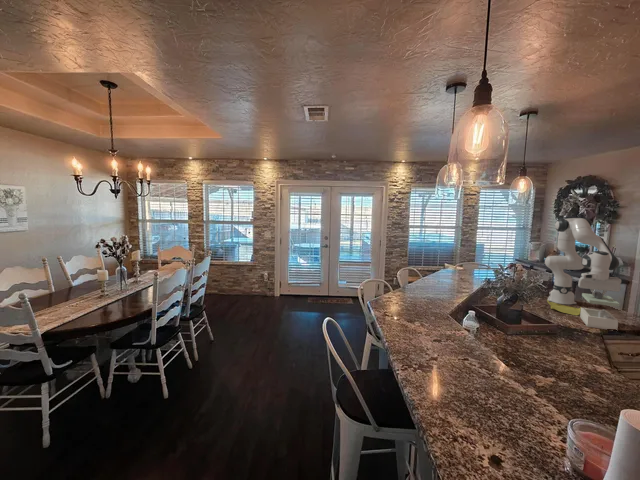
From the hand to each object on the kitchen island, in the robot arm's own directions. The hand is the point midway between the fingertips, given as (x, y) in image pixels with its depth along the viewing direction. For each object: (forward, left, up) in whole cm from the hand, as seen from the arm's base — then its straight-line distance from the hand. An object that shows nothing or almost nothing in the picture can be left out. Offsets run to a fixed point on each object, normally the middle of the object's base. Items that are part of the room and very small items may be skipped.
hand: (597, 296), depth 190 cm
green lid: (0, +1, -3) cm, 3 cm away
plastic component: (-21, -14, -19) cm, 31 cm away
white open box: (0, +1, -19) cm, 19 cm away
